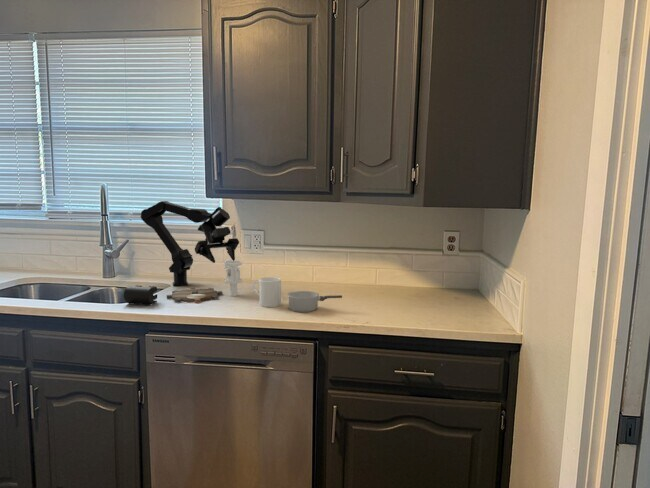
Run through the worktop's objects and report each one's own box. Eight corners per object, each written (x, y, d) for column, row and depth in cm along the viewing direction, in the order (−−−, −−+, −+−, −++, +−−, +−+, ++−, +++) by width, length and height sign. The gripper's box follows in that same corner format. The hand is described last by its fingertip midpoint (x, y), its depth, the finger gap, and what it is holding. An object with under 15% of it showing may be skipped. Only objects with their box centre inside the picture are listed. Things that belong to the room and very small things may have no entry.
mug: (256, 300, 173) (255, 275, 172) (284, 303, 169) (284, 277, 168) (246, 305, 165) (246, 279, 164) (275, 308, 162) (275, 282, 160)
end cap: (123, 305, 163) (122, 287, 162) (134, 301, 170) (133, 283, 169) (148, 307, 162) (148, 289, 161) (158, 302, 168) (158, 285, 168)
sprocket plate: (165, 292, 184) (165, 287, 183) (218, 288, 192) (218, 284, 191) (167, 305, 164) (167, 300, 163) (226, 300, 172) (226, 295, 172)
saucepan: (341, 315, 154) (341, 299, 154) (285, 313, 156) (285, 297, 155) (342, 306, 166) (342, 292, 165) (290, 304, 167) (290, 290, 167)
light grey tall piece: (222, 294, 182) (221, 258, 180) (238, 292, 185) (237, 257, 183) (228, 298, 176) (227, 261, 174) (244, 295, 179) (244, 259, 178)
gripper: (196, 221, 180) (210, 251, 173) (236, 219, 192) (250, 247, 185) (189, 239, 187) (201, 268, 180) (228, 236, 199) (241, 263, 192)
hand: (224, 261), depth 184 cm, fingers open, 9 cm apart
